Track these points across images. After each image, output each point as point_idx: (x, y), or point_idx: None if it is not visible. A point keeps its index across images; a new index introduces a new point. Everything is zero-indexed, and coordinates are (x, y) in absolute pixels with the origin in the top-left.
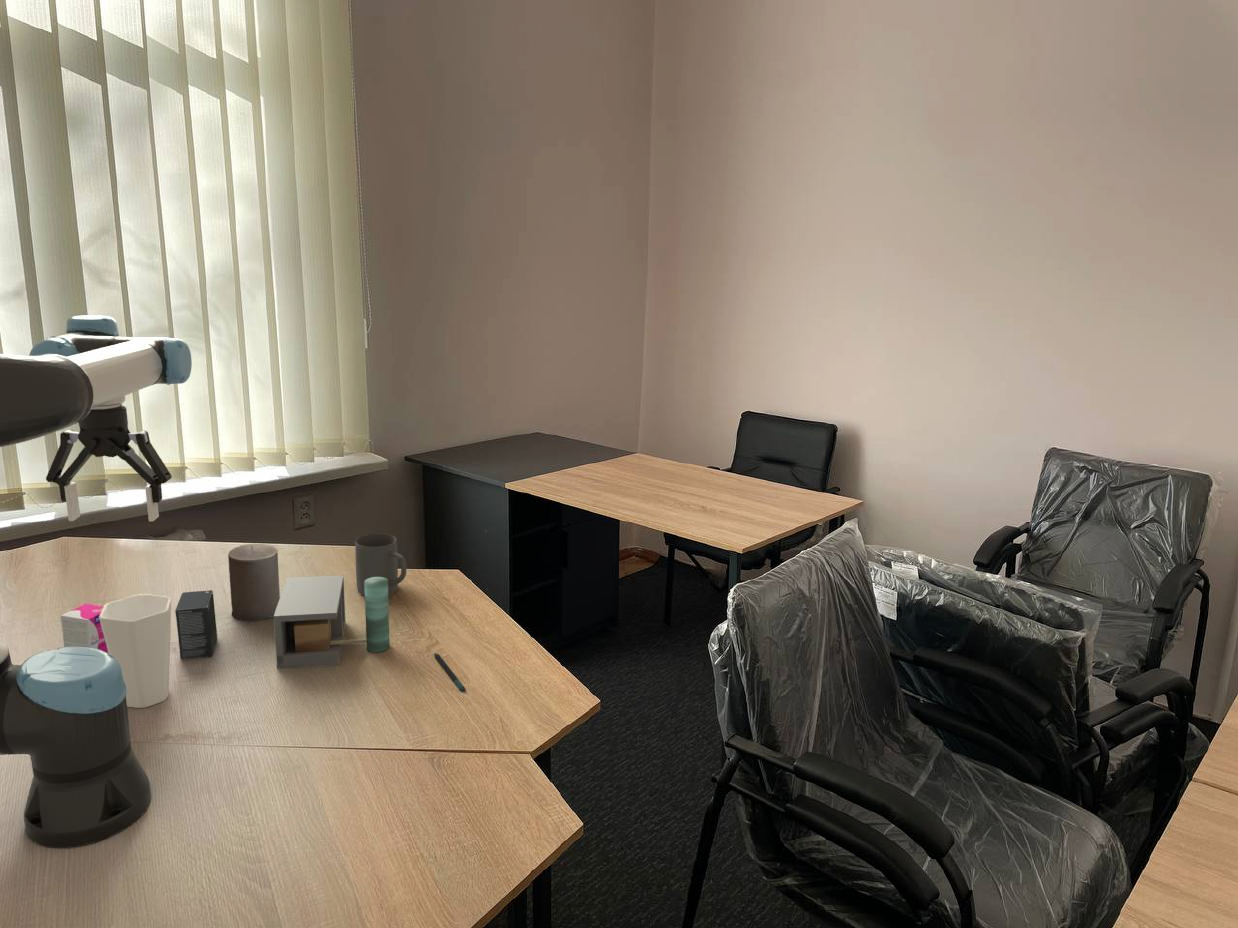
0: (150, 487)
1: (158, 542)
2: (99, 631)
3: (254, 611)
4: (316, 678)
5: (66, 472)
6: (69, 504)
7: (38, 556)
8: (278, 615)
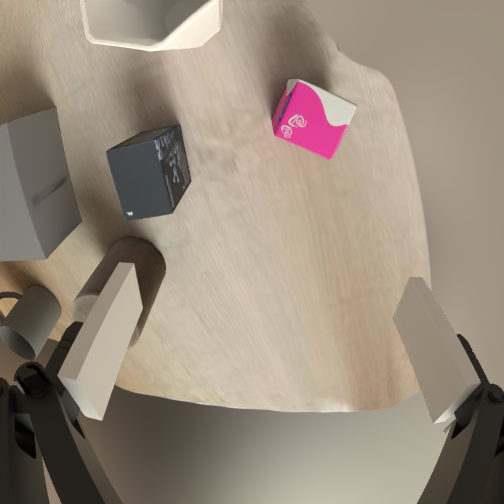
0: (39, 364)
1: (312, 409)
2: (285, 99)
3: (121, 244)
4: (17, 91)
5: (491, 445)
6: (440, 320)
7: (411, 382)
8: (3, 125)
